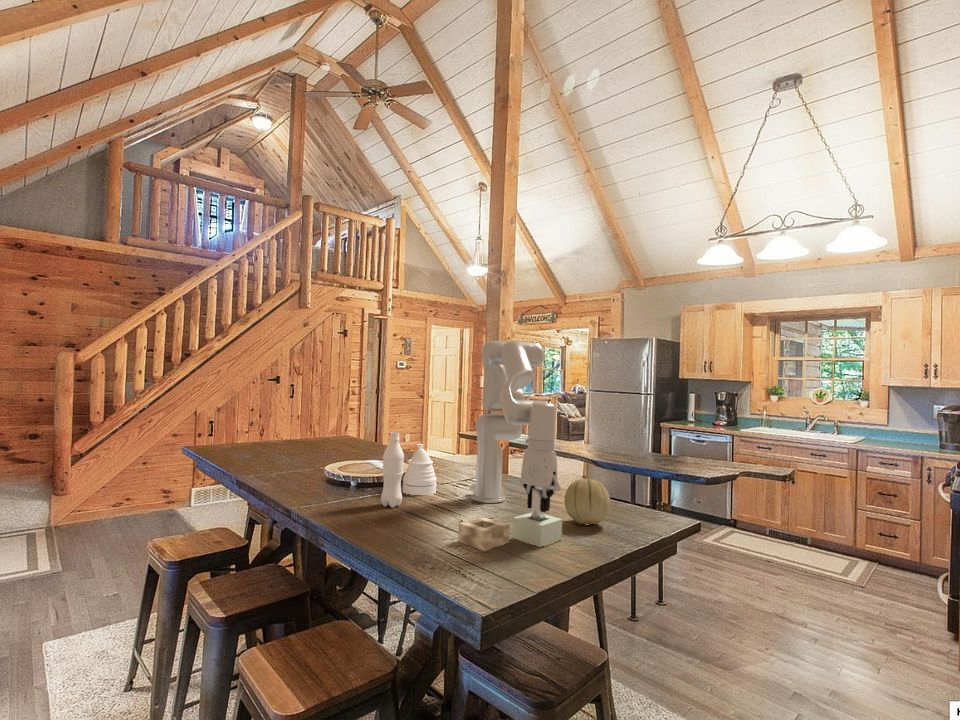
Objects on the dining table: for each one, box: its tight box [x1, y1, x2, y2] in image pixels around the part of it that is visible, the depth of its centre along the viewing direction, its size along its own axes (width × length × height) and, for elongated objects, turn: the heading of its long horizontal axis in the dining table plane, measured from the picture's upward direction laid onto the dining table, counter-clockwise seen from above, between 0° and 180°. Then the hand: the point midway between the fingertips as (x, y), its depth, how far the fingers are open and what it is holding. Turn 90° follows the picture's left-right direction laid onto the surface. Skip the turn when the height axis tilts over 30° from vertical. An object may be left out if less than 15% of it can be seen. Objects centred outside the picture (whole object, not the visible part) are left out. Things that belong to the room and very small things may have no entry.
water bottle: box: [380, 431, 405, 508], centre depth 177 cm, size 7×7×25 cm
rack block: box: [512, 512, 563, 548], centre depth 147 cm, size 10×10×6 cm
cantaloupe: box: [563, 475, 611, 525], centre depth 165 cm, size 15×15×15 cm
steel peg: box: [530, 486, 546, 522], centre depth 148 cm, size 4×4×12 cm
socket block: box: [457, 516, 511, 552], centre depth 143 cm, size 10×10×5 cm
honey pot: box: [402, 443, 437, 496], centre depth 199 cm, size 13×13×18 cm
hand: (538, 508), depth 148 cm, fingers closed on steel peg, 4 cm apart
